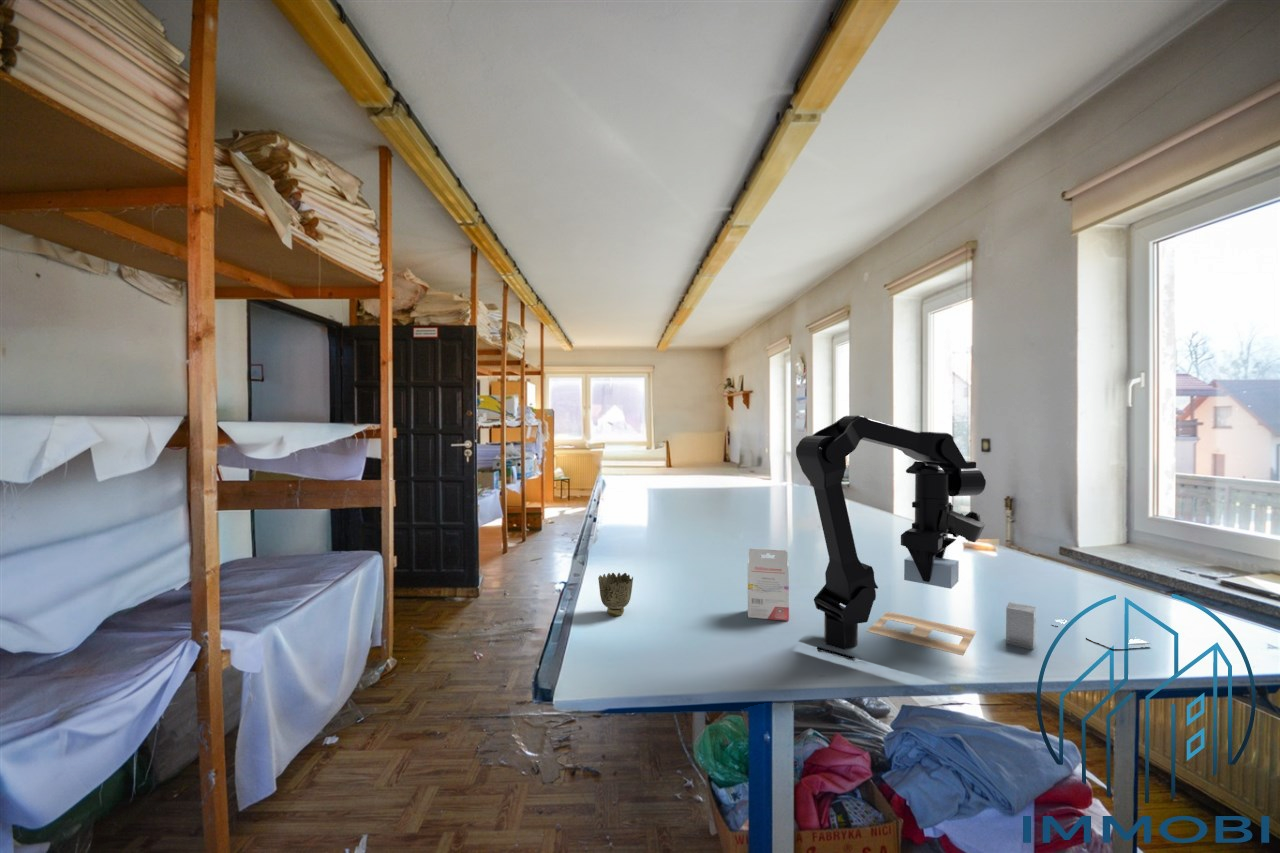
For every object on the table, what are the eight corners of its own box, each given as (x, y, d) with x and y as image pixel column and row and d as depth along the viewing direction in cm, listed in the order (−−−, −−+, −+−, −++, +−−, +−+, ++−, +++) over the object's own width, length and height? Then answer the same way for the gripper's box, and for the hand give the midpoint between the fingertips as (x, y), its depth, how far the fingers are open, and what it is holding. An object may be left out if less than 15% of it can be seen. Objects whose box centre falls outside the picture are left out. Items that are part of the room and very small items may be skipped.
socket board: (962, 663, 91) (963, 655, 91) (866, 639, 101) (866, 631, 101) (976, 639, 102) (976, 631, 102) (887, 618, 112) (887, 611, 112)
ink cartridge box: (788, 613, 115) (788, 545, 115) (789, 621, 110) (789, 550, 110) (747, 609, 117) (748, 543, 117) (747, 617, 112) (747, 548, 112)
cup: (637, 617, 112) (638, 579, 112) (604, 622, 109) (604, 583, 109) (625, 606, 119) (626, 570, 119) (594, 610, 116) (594, 573, 116)
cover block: (951, 588, 97) (951, 567, 97) (904, 579, 103) (904, 559, 103) (958, 581, 102) (958, 560, 102) (913, 573, 107) (913, 553, 107)
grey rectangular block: (1033, 658, 94) (1033, 612, 94) (1005, 651, 96) (1006, 607, 96) (1035, 650, 97) (1035, 607, 97) (1008, 644, 99) (1008, 602, 99)
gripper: (970, 507, 90) (969, 599, 90) (989, 496, 104) (988, 576, 104) (900, 500, 97) (899, 585, 98) (926, 491, 111) (926, 565, 111)
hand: (930, 577), depth 102 cm, fingers closed on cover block, 6 cm apart
